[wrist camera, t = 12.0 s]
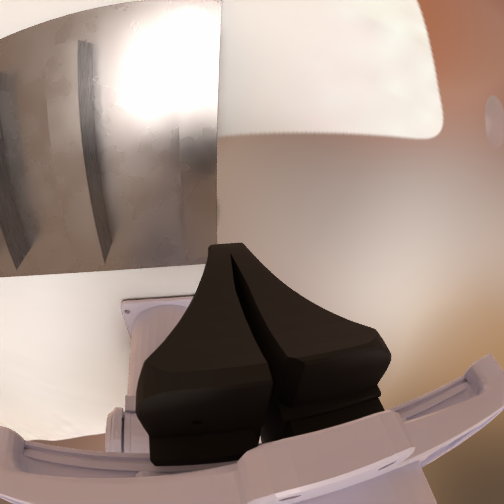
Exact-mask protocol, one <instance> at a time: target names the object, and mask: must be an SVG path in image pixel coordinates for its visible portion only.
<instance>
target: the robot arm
mask: <svg viewBox="0 0 504 504" xmlns="http://www.w3.org/2000/svg"><path fill="white" fill-rule="evenodd" d="M121 310H122V313H123V316H124V319H125V322H126V325H127V328H128V331H129V334H130V337H131V351H130V363H129V377H128V395H126V398H125V412H123V408H118V407H116V408H115V409H114V411H112V412H111V413H109V414H108V417H107V424H106V443H105V444H106V445H105V446H106V448H105V449H106V452H103V451H90V450H80V449H72V448H65V447H57V446H52V445H46V444H41V443H35V442H30V441H26V440H24V439H23V438H22V437H21V436H20V435H19V434H18V433H16V432H15V431H13V430H11V429H9V428H6V427H2V426H0V498H2V499H4V500H7V501H9V502H11V503H13V504H437V503H436V500H435V498H434V496H433V493H432V491H431V489H430V486H429V484H428V482H427V480H426V478H425V476H424V473H423V471H422V469H421V468H422V467H423V466H425V465H427V464H429V463H430V462H432V461H434V460H435V459H437V458H439V457H440V456H442V455H444V454H445V453H447V452H448V451H450V450H451V449H453V448H454V447H456V446H457V445H459V444H460V443H462V442H463V441H465V440H466V439H468V438H469V437H470V436H472V435H473V434H475V433H476V432H477V431H479V430H480V429H481V428H483V427H484V426H485V425H487V424H488V423H489V422H490V421H491V420H492V419H494V418H495V417H496V416H497V415H498V414H499V413H500V412H501V411H502V410H503V409H504V371H503V369H502V368H501V367H500V365H499V364H498V362H497V361H496V360H495V359H494V357H493V356H492V354H491V353H489V354H487V355H485V356H484V357H482V358H480V359H478V360H477V361H475V362H474V363H473V364H472V365H471V366H470V367H469V368H468V369H467V371H466V372H465V374H464V375H463V376H461V377H459V378H457V379H455V380H453V381H451V382H449V383H447V384H445V385H443V386H441V387H439V388H437V389H435V390H432V391H430V392H428V393H426V394H424V395H421V396H419V397H417V398H415V399H412V400H410V401H407V402H405V403H403V404H400V405H398V406H395V407H392V408H390V409H387V410H384V408H383V406H382V404H381V402H380V400H379V398H378V397H380V396H381V391H380V390H379V388H378V386H377V384H378V382H379V381H380V379H381V378H382V376H383V375H384V373H385V371H386V370H387V368H388V366H389V364H390V361H391V353H390V351H389V349H388V348H387V346H386V344H385V342H384V341H383V339H382V338H381V336H380V335H379V333H378V332H377V331H376V330H375V329H374V328H371V327H368V326H364V325H362V324H359V323H355V322H353V321H350V320H347V319H345V318H343V317H340V316H338V315H336V314H333V313H331V312H329V311H327V310H325V309H323V308H321V307H320V306H318V305H316V304H314V303H312V302H311V301H309V300H307V299H305V298H304V297H302V296H301V295H299V294H298V293H297V292H295V291H293V290H292V289H291V288H289V287H288V286H287V285H285V284H284V283H283V282H282V281H280V280H279V279H278V278H277V277H276V276H274V275H273V274H272V273H271V272H270V271H269V270H268V269H267V268H266V267H265V266H264V265H263V264H262V263H261V262H260V261H259V260H258V259H257V258H256V257H255V256H254V255H253V254H252V253H251V252H250V251H249V249H248V248H247V247H246V246H245V245H244V244H243V243H231V244H215V245H210V246H209V247H208V258H207V262H206V266H205V269H204V272H203V276H202V278H201V281H200V283H199V286H198V288H197V290H196V293H195V295H194V296H189V297H175V298H161V299H145V300H127V301H123V302H122V303H121ZM127 310H129V311H127ZM260 436H261V441H262V443H261V444H258V443H259V438H260Z"/></svg>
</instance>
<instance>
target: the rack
mask: <svg viewBox="0 0 504 504" xmlns="http://www.w3.org/2000/svg"><path fill="white" fill-rule="evenodd" d="M221 6H222V0H141V1H134V2H127V3H120V4H115V5H109V6H104V7H99V8H94V9H90V10H85V11H81V12H77V13H74V14H70V15H66V16H63V17H59V18H56V19H53V20H50V21H46V22H43V23H40V24H38V25H35V26H32V27H29V28H27V29H24V30H21V31H19V32H16V33H14V34H11V35H9V36H7V37H4V38H2V39H0V277H12V276H29V275H46V274H62V273H78V272H93V271H108V270H123V269H138V268H152V267H167V266H181V265H194V264H206V262H207V258H208V247H209V246H210V245H215V244H217V199H216V174H217V173H216V171H217V169H216V167H217V166H216V163H217V104H218V72H219V47H220V27H221V24H220V23H221Z"/></svg>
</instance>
